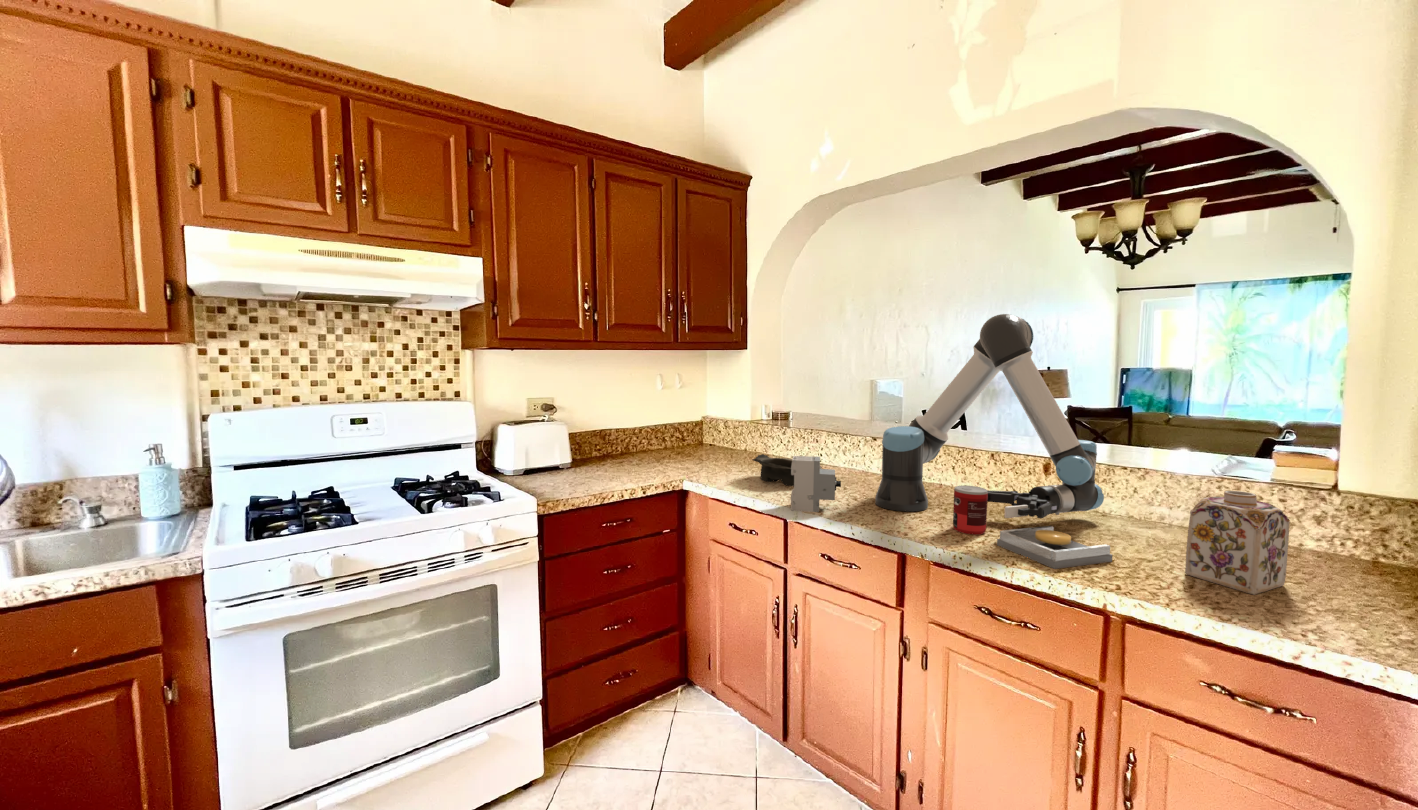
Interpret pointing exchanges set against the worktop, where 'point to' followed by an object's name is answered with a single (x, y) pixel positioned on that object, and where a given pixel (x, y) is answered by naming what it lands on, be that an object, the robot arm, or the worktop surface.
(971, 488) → the canned food
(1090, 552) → the switch base
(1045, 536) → the button
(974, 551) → the worktop surface
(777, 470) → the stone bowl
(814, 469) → the circuit breaker
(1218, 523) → the decorative jar
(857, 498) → the worktop surface
